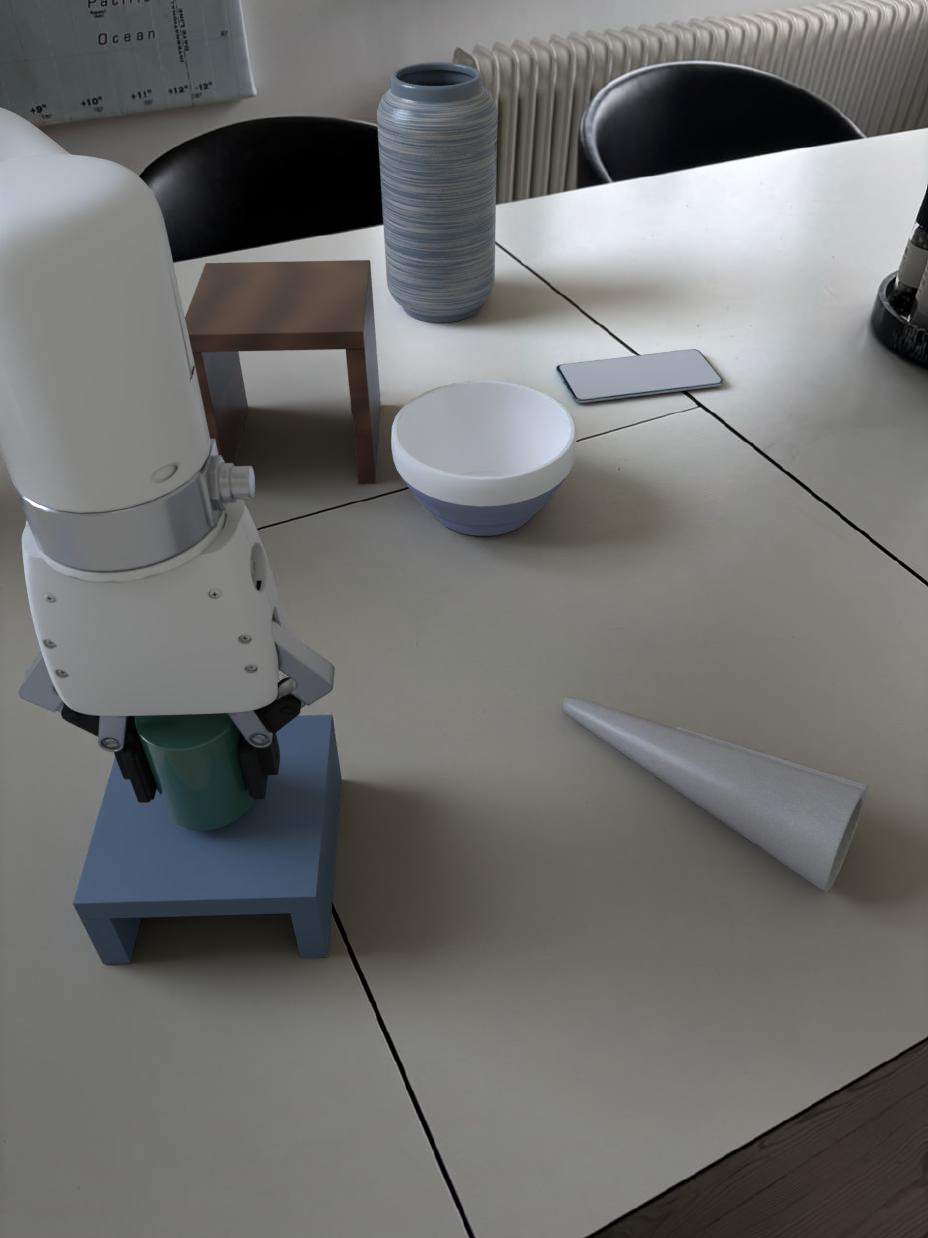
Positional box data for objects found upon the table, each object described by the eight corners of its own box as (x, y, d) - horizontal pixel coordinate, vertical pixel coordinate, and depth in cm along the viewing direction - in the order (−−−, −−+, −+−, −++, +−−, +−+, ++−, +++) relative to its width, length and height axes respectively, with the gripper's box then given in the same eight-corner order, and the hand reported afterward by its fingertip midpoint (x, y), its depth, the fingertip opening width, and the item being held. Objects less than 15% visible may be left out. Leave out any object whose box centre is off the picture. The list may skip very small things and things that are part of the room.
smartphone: (554, 364, 99) (697, 347, 101) (554, 369, 99) (697, 352, 102) (575, 400, 94) (725, 382, 96) (574, 405, 94) (724, 387, 97)
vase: (408, 337, 105) (397, 98, 89) (374, 291, 113) (359, 64, 97) (510, 318, 108) (517, 83, 92) (471, 275, 116) (471, 52, 100)
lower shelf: (102, 964, 53) (71, 903, 49) (148, 784, 62) (125, 719, 58) (328, 957, 54) (316, 896, 50) (341, 778, 62) (332, 714, 58)
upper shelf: (210, 487, 85) (177, 334, 76) (232, 406, 95) (205, 262, 85) (375, 483, 86) (363, 331, 76) (380, 403, 95) (370, 259, 86)
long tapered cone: (519, 714, 61) (838, 840, 52) (571, 661, 65) (873, 768, 56) (519, 784, 64) (819, 914, 55) (568, 729, 68) (853, 841, 59)
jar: (154, 833, 51) (124, 751, 47) (172, 756, 55) (145, 674, 51) (252, 830, 52) (231, 748, 47) (263, 754, 55) (245, 672, 51)
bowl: (374, 476, 86) (367, 398, 81) (530, 443, 90) (533, 366, 85) (427, 579, 76) (424, 497, 71) (600, 537, 80) (609, 457, 75)
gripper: (343, 439, 43) (372, 720, 55) (-58, 448, 43) (62, 729, 55) (331, 549, 38) (367, 834, 50) (-129, 560, 37) (21, 844, 50)
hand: (206, 777), depth 52 cm, fingers closed on jar, 5 cm apart
